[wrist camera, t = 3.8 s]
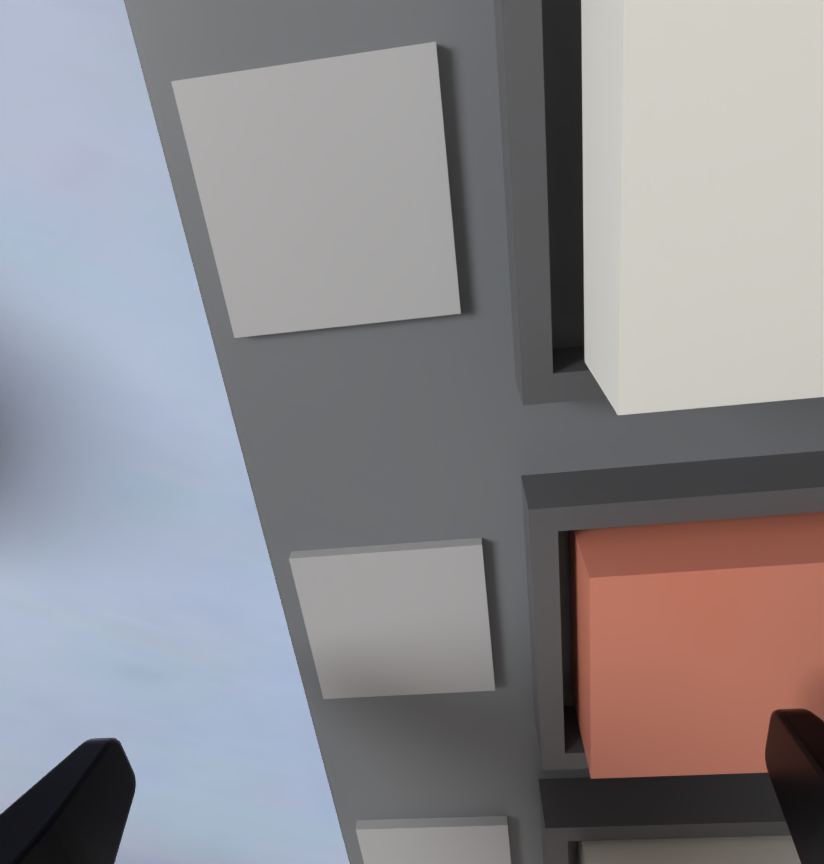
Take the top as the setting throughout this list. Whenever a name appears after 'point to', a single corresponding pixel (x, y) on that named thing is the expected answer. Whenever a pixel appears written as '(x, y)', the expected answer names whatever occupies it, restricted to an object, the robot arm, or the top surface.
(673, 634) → the button middle
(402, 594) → the button panel
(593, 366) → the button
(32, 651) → the top surface
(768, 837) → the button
